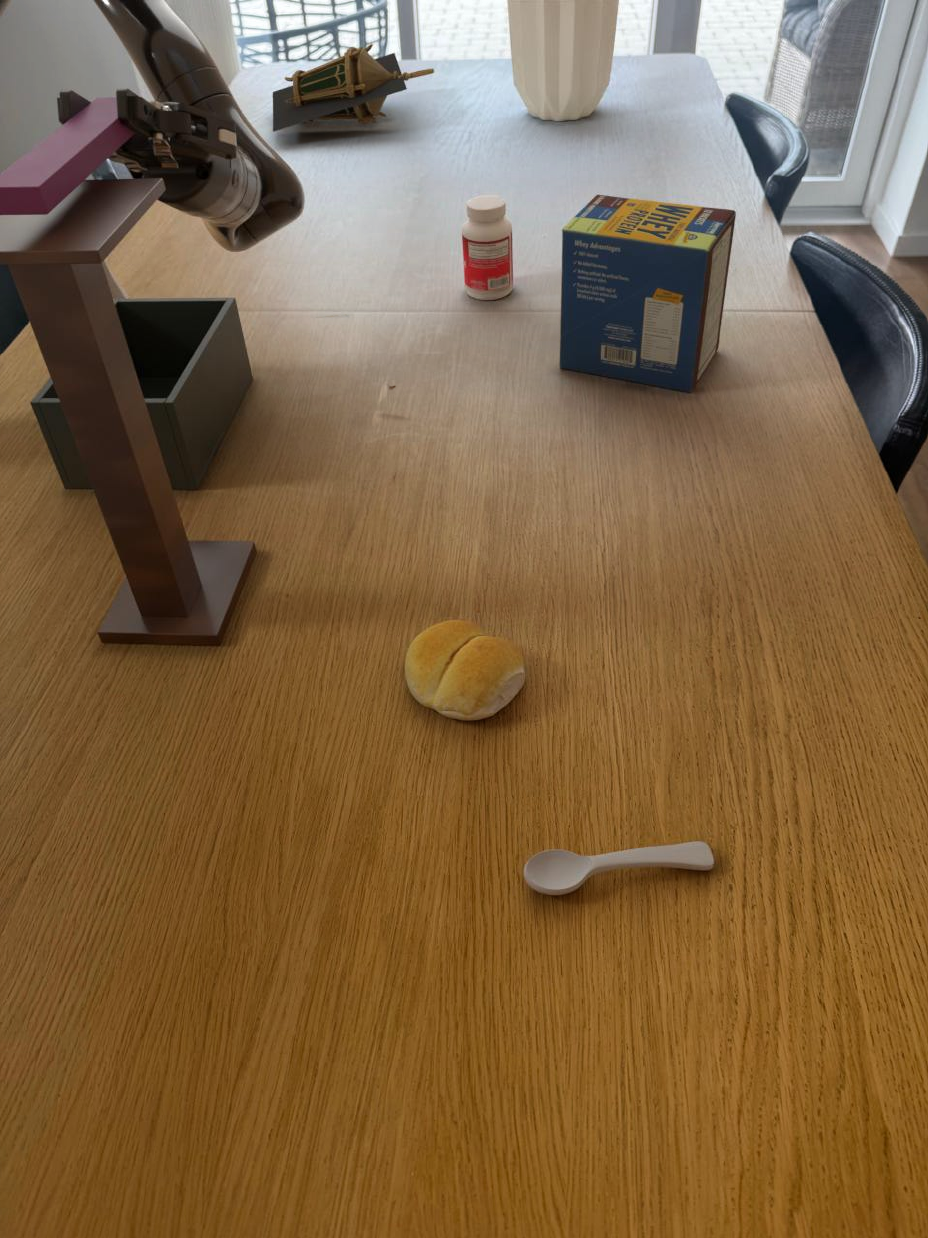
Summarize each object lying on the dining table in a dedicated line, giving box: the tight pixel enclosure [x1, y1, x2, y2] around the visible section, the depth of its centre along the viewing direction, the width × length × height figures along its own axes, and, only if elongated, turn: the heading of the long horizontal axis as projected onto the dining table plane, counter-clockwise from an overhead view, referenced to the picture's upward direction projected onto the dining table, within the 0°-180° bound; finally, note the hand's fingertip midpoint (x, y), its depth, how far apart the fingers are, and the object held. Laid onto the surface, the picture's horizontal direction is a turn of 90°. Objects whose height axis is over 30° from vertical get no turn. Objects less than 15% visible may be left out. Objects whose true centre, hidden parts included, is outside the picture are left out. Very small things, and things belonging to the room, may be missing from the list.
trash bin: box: [29, 297, 254, 491], centre depth 99 cm, size 14×22×10 cm, turn 175°
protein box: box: [558, 194, 737, 393], centre depth 103 cm, size 10×15×16 cm
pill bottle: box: [461, 194, 514, 301], centre depth 119 cm, size 6×6×11 cm
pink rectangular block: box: [0, 96, 144, 215], centre depth 63 cm, size 3×18×2 cm, turn 175°
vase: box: [507, 0, 620, 122], centre depth 167 cm, size 20×20×28 cm
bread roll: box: [404, 619, 527, 721], centre depth 72 cm, size 8×9×4 cm
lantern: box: [272, 43, 435, 132], centre depth 175 cm, size 14×23×30 cm
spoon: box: [522, 841, 715, 896], centre depth 60 cm, size 3×12×2 cm, turn 97°
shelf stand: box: [0, 178, 258, 647], centre depth 71 cm, size 10×12×32 cm
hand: (94, 105), depth 65 cm, fingers closed on pink rectangular block, 3 cm apart
